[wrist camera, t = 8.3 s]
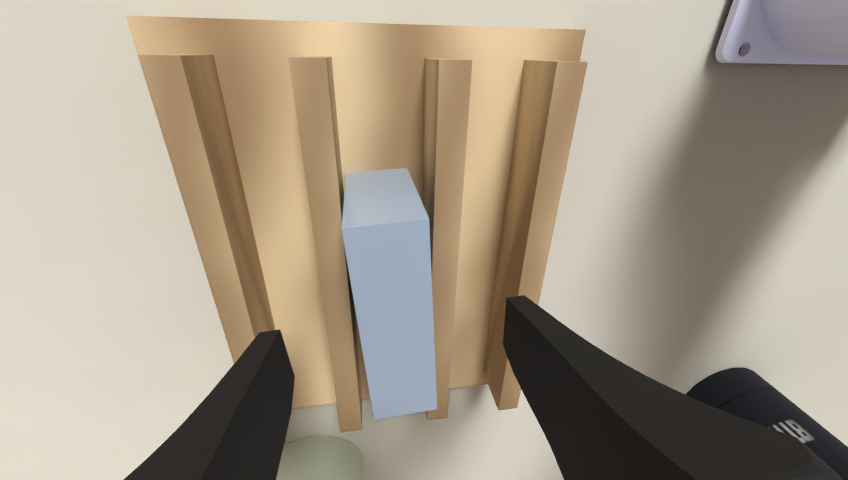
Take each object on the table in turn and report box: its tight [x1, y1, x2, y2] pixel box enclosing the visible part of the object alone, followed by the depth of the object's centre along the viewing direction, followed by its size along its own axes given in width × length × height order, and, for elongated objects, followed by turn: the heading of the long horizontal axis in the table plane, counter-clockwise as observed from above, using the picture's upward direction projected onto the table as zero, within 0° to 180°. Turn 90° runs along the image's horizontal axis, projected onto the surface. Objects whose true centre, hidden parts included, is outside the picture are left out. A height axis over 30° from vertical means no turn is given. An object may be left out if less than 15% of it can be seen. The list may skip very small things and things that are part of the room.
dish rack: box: [126, 16, 587, 432], centre depth 15 cm, size 15×18×4 cm
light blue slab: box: [342, 168, 437, 420], centre depth 14 cm, size 2×8×5 cm, turn 3°
